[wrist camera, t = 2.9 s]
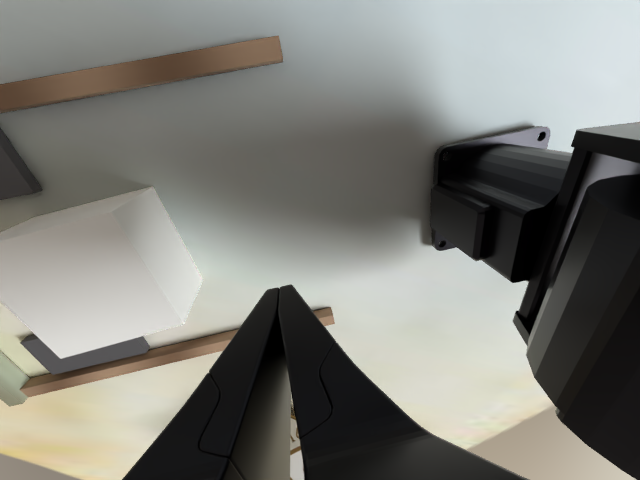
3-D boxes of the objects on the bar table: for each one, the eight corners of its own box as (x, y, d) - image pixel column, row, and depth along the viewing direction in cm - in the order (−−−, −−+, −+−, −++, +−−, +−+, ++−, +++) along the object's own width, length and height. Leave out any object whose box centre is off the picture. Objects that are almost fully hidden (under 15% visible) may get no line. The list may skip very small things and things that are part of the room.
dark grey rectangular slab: (-4, 122, 11) (-16, 123, 11) (149, 346, 18) (146, 352, 17) (-155, 150, 11) (-173, 152, 10) (58, 368, 17) (52, 374, 17)
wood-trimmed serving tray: (278, 40, 11) (278, 33, 10) (332, 315, 19) (335, 327, 18) (-260, 135, 10) (-324, 138, 9) (25, 388, 18) (9, 406, 17)
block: (154, 185, 13) (111, 211, 10) (204, 277, 16) (183, 324, 13) (38, 215, 13) (-50, 254, 10) (108, 303, 16) (60, 358, 12)
